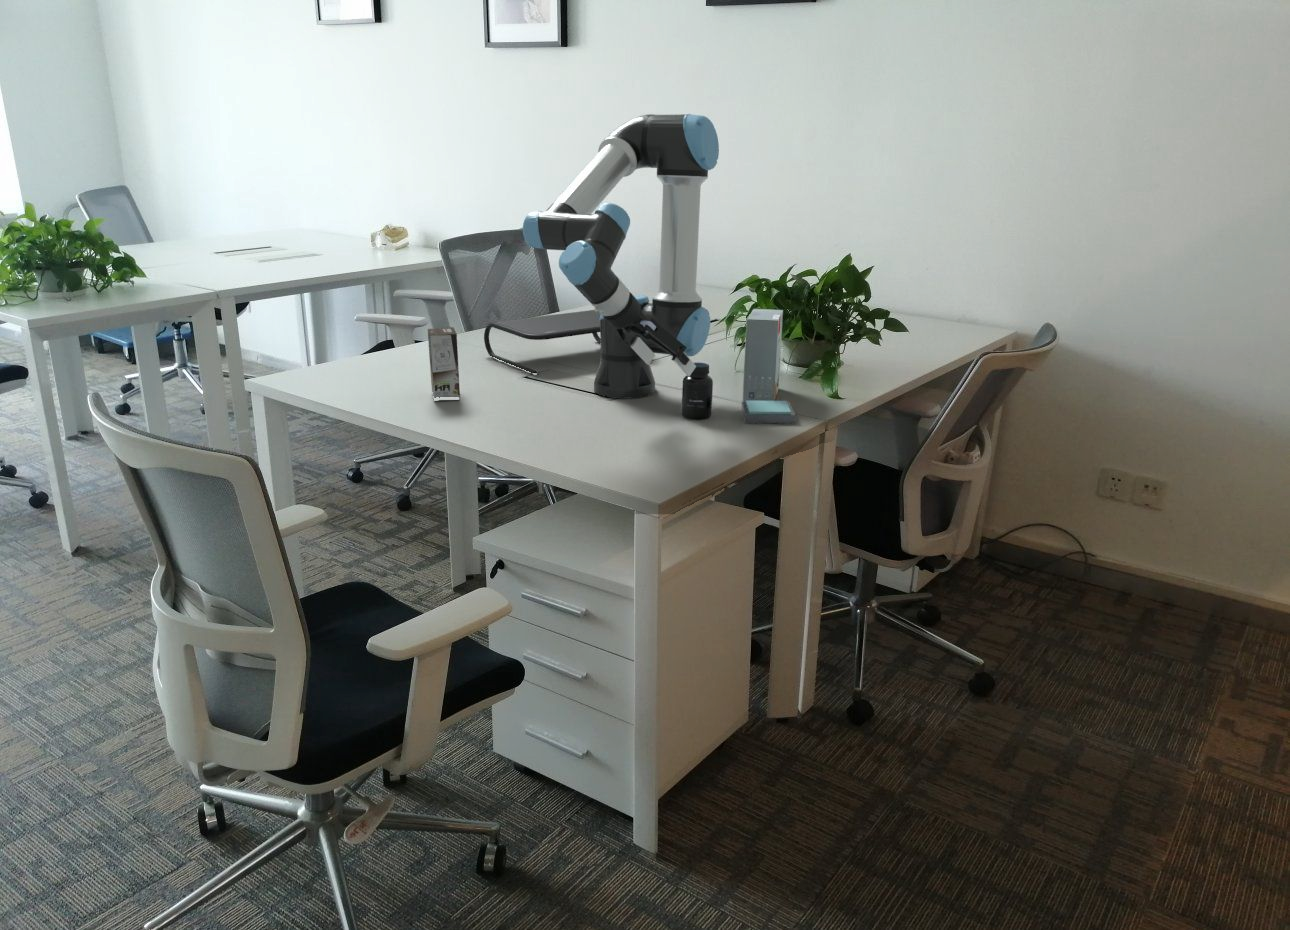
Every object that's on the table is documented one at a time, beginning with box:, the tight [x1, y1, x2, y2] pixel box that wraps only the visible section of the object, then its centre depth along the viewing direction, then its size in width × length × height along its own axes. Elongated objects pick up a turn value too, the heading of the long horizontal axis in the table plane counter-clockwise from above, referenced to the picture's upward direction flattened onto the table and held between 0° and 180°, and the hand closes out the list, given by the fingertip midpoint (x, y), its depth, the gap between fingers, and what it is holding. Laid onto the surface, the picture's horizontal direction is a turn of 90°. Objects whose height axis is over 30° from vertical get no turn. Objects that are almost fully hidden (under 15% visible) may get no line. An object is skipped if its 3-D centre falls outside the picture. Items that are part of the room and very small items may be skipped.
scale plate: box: [745, 400, 791, 414], centre depth 232 cm, size 9×9×1 cm
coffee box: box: [427, 326, 461, 399], centre depth 246 cm, size 9×6×16 cm
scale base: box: [741, 401, 796, 425], centre depth 232 cm, size 11×11×2 cm
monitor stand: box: [483, 309, 601, 373], centre depth 288 cm, size 37×28×11 cm
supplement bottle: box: [681, 362, 714, 421], centre depth 231 cm, size 7×7×12 cm
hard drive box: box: [742, 308, 784, 402], centre depth 247 cm, size 16×8×20 cm, turn 168°
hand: (671, 365), depth 223 cm, fingers open, 13 cm apart
